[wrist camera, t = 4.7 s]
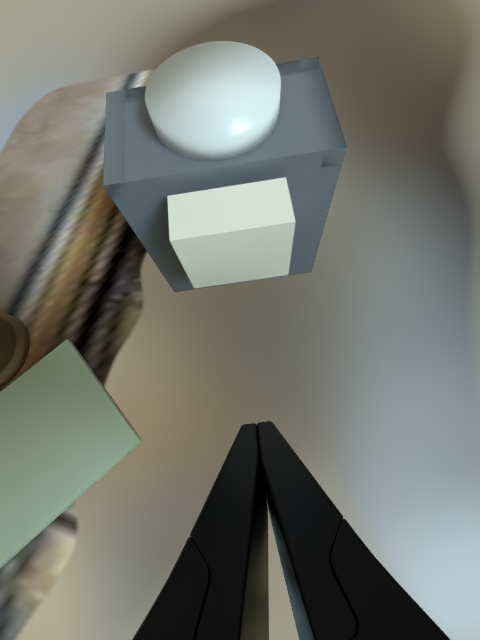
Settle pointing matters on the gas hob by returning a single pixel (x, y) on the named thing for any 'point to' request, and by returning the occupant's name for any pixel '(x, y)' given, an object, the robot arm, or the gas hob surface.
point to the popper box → (222, 142)
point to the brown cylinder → (12, 346)
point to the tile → (54, 443)
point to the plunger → (233, 232)
